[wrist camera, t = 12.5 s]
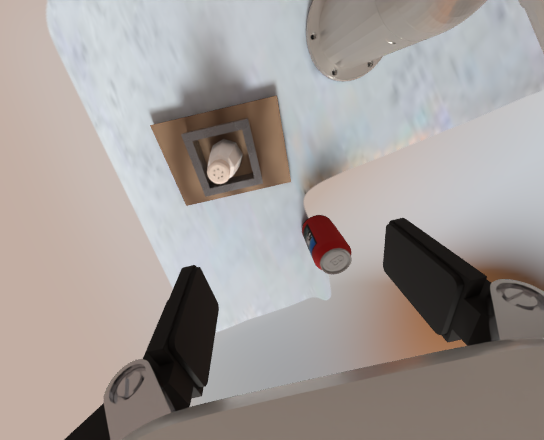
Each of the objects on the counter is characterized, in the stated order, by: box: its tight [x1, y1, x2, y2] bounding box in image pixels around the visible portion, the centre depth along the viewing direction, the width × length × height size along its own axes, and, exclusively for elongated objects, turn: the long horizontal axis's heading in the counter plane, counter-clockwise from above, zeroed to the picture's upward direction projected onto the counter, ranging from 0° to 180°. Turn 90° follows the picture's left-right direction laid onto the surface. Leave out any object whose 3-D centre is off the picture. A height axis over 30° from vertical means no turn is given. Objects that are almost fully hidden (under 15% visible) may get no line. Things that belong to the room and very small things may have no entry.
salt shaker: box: [207, 139, 243, 184], centre depth 30 cm, size 5×5×11 cm
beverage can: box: [302, 215, 351, 274], centre depth 40 cm, size 7×7×12 cm
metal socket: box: [181, 118, 263, 197], centre depth 34 cm, size 10×10×4 cm
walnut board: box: [150, 96, 291, 206], centre depth 36 cm, size 20×14×2 cm
